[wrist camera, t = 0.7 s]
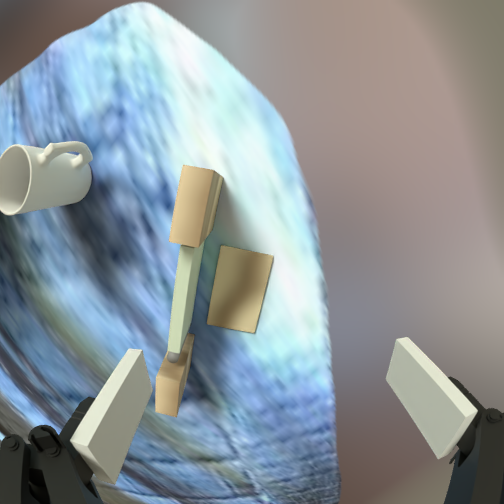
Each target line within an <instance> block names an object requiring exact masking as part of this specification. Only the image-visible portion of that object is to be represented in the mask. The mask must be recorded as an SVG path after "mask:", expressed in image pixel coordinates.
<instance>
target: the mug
mask: <svg viewBox="0 0 504 504" xmlns="http://www.w3.org/2000/svg"><path fill="white" fill-rule="evenodd" d="M71 151H75V152H79V153H80V155H79V156H77V155H73V154H69V153H66V152H71ZM92 159H93V156H92V153H91V151H90V150H89V148H88V146H87V145H86V144H84V143H82V142H76V141H71V142H62V143H50V144H49V145H48V146H47V147H46V148H45V149H43V148H37V147H32V146H25V145H18V144H16V145H12V146H10V147H9V148H7V149H6V150H5V151H4V153H3V154H2V156H1V157H0V210H1V211H2V212H3V213H4V214H6V215H14V214H21V213H26V212H31V211H36V210H41V209H46V208H51V207H57V206H63V205H67V204H72V203H76V202H79V201H80V200H82V199H83V198H84V197H85V196H86V194H87V192H88V191H89V188H90V185H91V179H92V174H91V168H90V166H89V164H88V163H89V162H90V161H91V160H92Z"/></svg>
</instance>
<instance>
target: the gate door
mask: <svg viewBox="0 0 504 504" xmlns="http://www.w3.org/2000/svg"><path fill="white" fill-rule="evenodd" d="M204 242H205V240H204V241H203V243H202V244H201V245H200V246H199V248H197V247H192V246H187V245H181V246H180V252H179V259H178V265H177V272H176V279H175V287H174V295H173V303H172V312H171V321H170V331H169V342H168V351H169V352H168V355H167V360H168V361H169V362H170V363H177V362H178V359H179V357H180V354H181V351H182V348H183V345H184V343H185V340H186V337H187V334H188V332H189V329H190V326H191V321H192V315H193V308H194V302H195V295H196V289H197V283H198V277H199V271H200V265H201V259H202V253H203V248H204Z"/></svg>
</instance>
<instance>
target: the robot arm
mask: <svg viewBox="0 0 504 504" xmlns="http://www.w3.org/2000/svg"><path fill="white" fill-rule="evenodd" d="M386 380H387V382H388V383H389V385H390V386H391V388H392V389H393V390H394V392H395V394H396V395H397V396H398V398H399V399H400V401H401V402H402V404H403V405H404V407H405V408H406V410H407V411H408V413H409V414H410V416H411V417H412V419H413V421H414V422H415V424H416V425H417V427H418V428H419V430H420V431H421V432H422V434H423V436H424V437H425V439H426V441H427V442H428V444H429V445H430V447H431V448H432V450H433V452H434V453H435V455H436V457H437V458H438V459H439V458H442V457H444V456H445V455H448V454H450V453H451V452H452V450H453V449H454V447H455V446H456V445H457V446H458V447H459V450H458V451H457V452H456V454H455V455H454V457H453V458H452V459H451V461H450V463H449V464H451V463H452V462H453V461H454V459H455V463H454V468H453V472H452V476H451V480H450V485H449V488H448V492H447V495H446V498H445V502H444V504H504V413H501V412H500V411H498V410H497V409H494V408H491V409H490V408H489V409H485V408H484V407H483V406H482V405H481V404H480V403H479V402H478V401H477V400H476V399H475V398H474V396H473V395H472V394H471V393H469V391H468V390H467V389H466V388H464V386H463V385H462V384H461V383H460V382H459V381H458V380H456V379H454V378H452V377H448V378H447V377H446V376H445V375H444V374H443V373H442V371H441V370H440V369H438V367H437V366H436V365H435V364H434V363H433V362H432V361H431V360H430V359H429V358H428V357H427V356H426V355H425V354H424V353H423V352H422V351H421V350H420V349H419V348H418V347H417V346H416V345H415V344H414V343H413V342H412V341H411V340H410V339H409V338H408V337H405V338H400V339H396V342H395V346H394V351H393V354H392V358H391V362H390V366H389V369H388V373H387V376H386ZM152 391H153V389H152V386H151V382H150V379H149V375H148V371H147V367H146V363H145V359H144V355H143V351H142V350H139V349H128V351H127V352H126V354H125V355H124V357H123V358H122V360H121V361H120V362H119V364H118V365H117V367H116V368H115V370H114V371H113V373H112V374H111V376H110V377H109V379H108V380H107V382H106V384H105V385H104V387H103V388H102V390H101V391H100V393H99V394H98V396H97V397H96V398H92V397H88V398H86V399H85V400H83V401H82V402H81V403H80V404H79V405H78V407H77V408H76V410H75V412H74V413H73V414H72V416H71V418H70V419H69V420H68V422H67V423H66V425H65V426H64V428H63V430H62V431H61V433H60V434H59V435H58V434H57V432H56V431H55V429H54V428H52V427H51V426H48V425H39V426H37V427H35V428H33V429H32V430H31V432H30V433H29V437H28V440H29V441H30V443H31V444H26V443H25V441H24V440H23V439H22V437H20V436H19V435H16V434H11V435H8V436H6V437H5V438H4V439H3V440H2V443H1V447H0V504H103V502H102V500H101V498H100V496H99V493H98V491H97V489H96V487H95V485H94V483H93V481H92V480H91V477H92V475H93V473H94V474H95V476H96V477H97V478H98V479H99V480H101V481H104V482H107V483H111V484H114V485H115V484H116V481H117V478H118V476H119V473H120V470H121V468H122V465H123V462H124V460H125V457H126V455H127V452H128V450H129V447H130V445H131V442H132V439H133V437H134V435H135V432H136V430H137V427H138V425H139V422H140V420H141V417H142V415H143V412H144V410H145V408H146V405H147V403H148V401H149V398H150V396H151V393H152Z"/></svg>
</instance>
